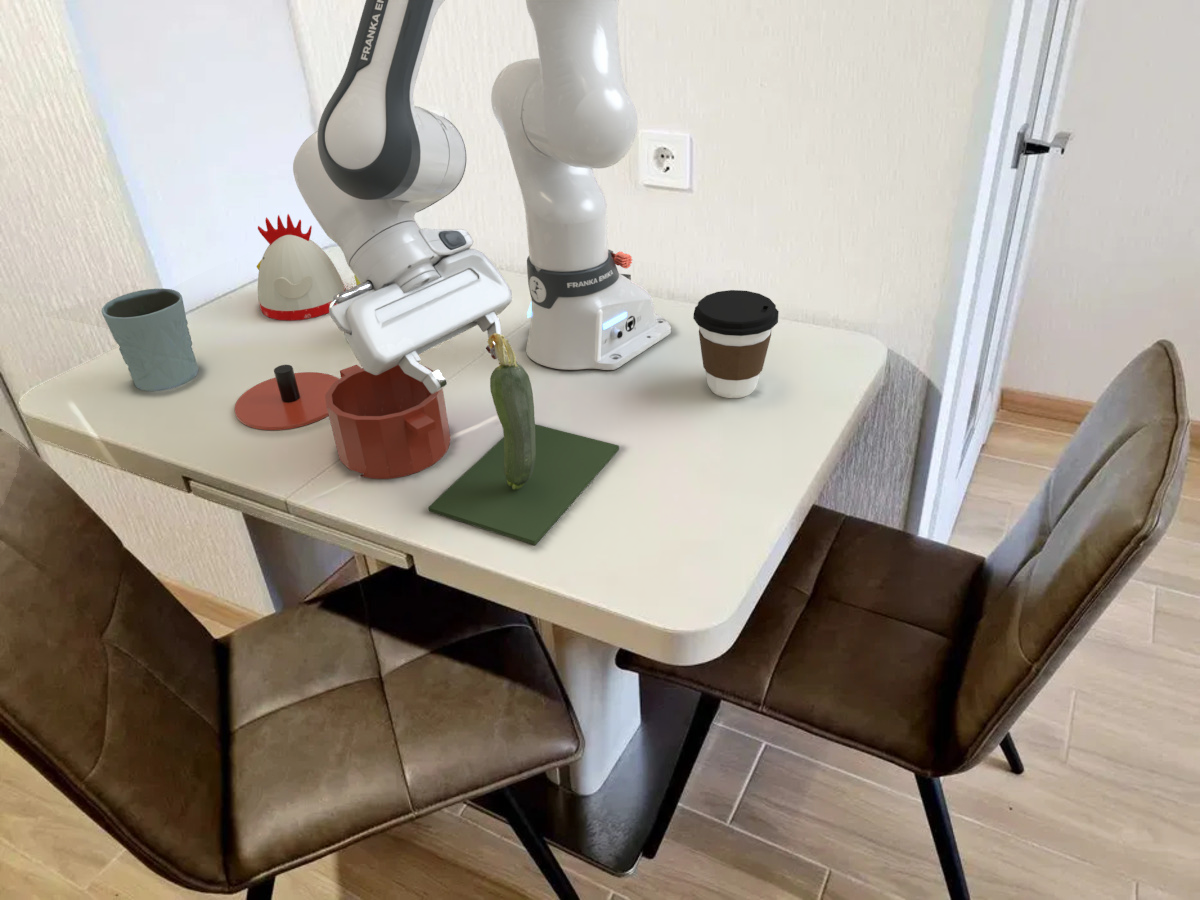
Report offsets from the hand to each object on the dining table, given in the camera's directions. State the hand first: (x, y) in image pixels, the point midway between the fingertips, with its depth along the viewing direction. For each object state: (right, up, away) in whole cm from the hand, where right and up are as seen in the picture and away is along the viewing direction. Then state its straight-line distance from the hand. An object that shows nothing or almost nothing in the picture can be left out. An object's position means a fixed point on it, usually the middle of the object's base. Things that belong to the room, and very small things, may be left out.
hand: (472, 371), depth 96 cm
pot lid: (-28, -2, +23) cm, 36 cm away
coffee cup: (+32, 0, +23) cm, 39 cm away
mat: (+6, -12, +7) cm, 15 cm away
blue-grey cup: (-48, +2, +31) cm, 57 cm away
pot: (-12, -8, +13) cm, 19 cm away
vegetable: (+5, -13, +4) cm, 15 cm away
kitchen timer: (-36, +16, +51) cm, 65 cm away
